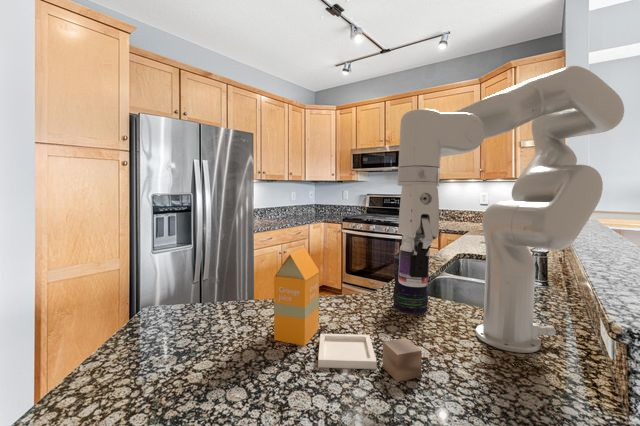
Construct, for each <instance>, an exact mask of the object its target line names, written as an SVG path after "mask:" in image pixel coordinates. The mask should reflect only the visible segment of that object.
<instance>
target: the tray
mask: <svg viewBox="0 0 640 426" xmlns="http://www.w3.org/2000/svg"><path fill="white" fill-rule="evenodd" d="M319 335H320V336H319V345H318V347H319V348H318V360H317V368H326V369H327V368H328V369H358V370H362V369H363V370H377V365H378V364H377V362H378V361H377V358H376V354H375V351H374V350H375V349H374V346H373V343H372V340H371V336H370V334H356V333H355V334H354V333H353V334H351V333H320V334H319Z"/></svg>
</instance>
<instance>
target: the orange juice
mask: <svg viewBox="0 0 640 426" xmlns="http://www.w3.org/2000/svg"><path fill="white" fill-rule="evenodd" d="M319 290H320V270H319V268H318V266H317V265H316V264H315V262H314V260H313V258H312V257H311V255H310V253H309V251H308V250H307V249H306V247H302V248H299V249H297V250H294V251H292V252H289V254H288V256H287V257H286V258H285V260H284V262H283V263H282V265H281V266H280V268H279V269H278V271H277V272H276V274H275V275H274V276H273V327H274V328H273V334H274V335H273V337H274V338H273V340H274V341H277V342H284V343H289V344H293V345H298V346H304V347H305V346H306V345H307V344H308V343H309V342H310V340H311V339H312V338H313V337H314V336H315V335H316V333H318V331H319V330H320V329H319V327H320V326H319V325H320V324H319V323H320V320H319V319H320V317H319V316H320V315H319V313H320V312H319V311H320V310H319V307H320V291H319ZM318 329H319V330H318ZM317 330H318V331H317Z"/></svg>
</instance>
